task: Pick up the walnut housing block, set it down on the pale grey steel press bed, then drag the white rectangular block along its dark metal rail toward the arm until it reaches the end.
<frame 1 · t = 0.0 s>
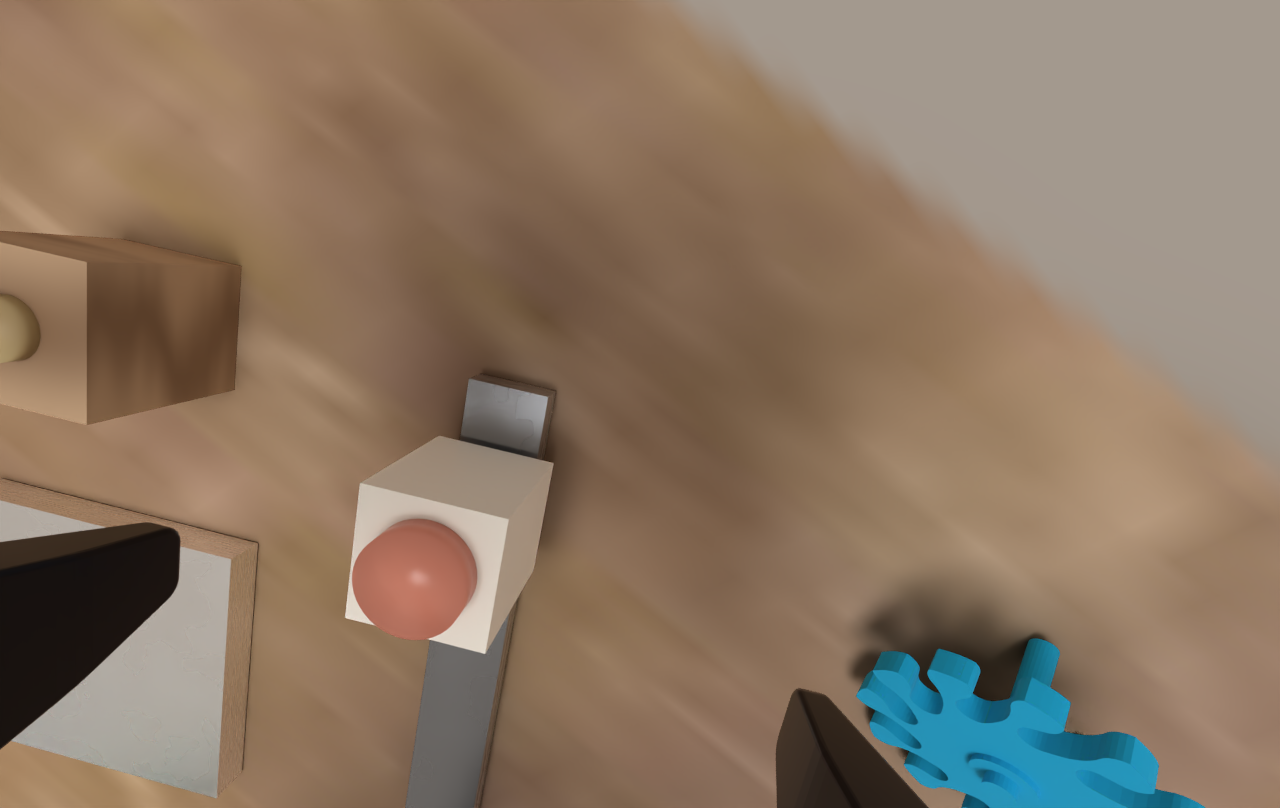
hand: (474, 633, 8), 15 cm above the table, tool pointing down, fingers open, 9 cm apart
blue lobed piece: (965, 694, 24), on the table
housing: (180, 315, 24), on the table
press bed: (126, 630, 27), on the table
lever rail: (480, 610, 25), on the table
white rectangular block: (453, 539, 19), point 5 cm above the table, slide at 12.0 cm
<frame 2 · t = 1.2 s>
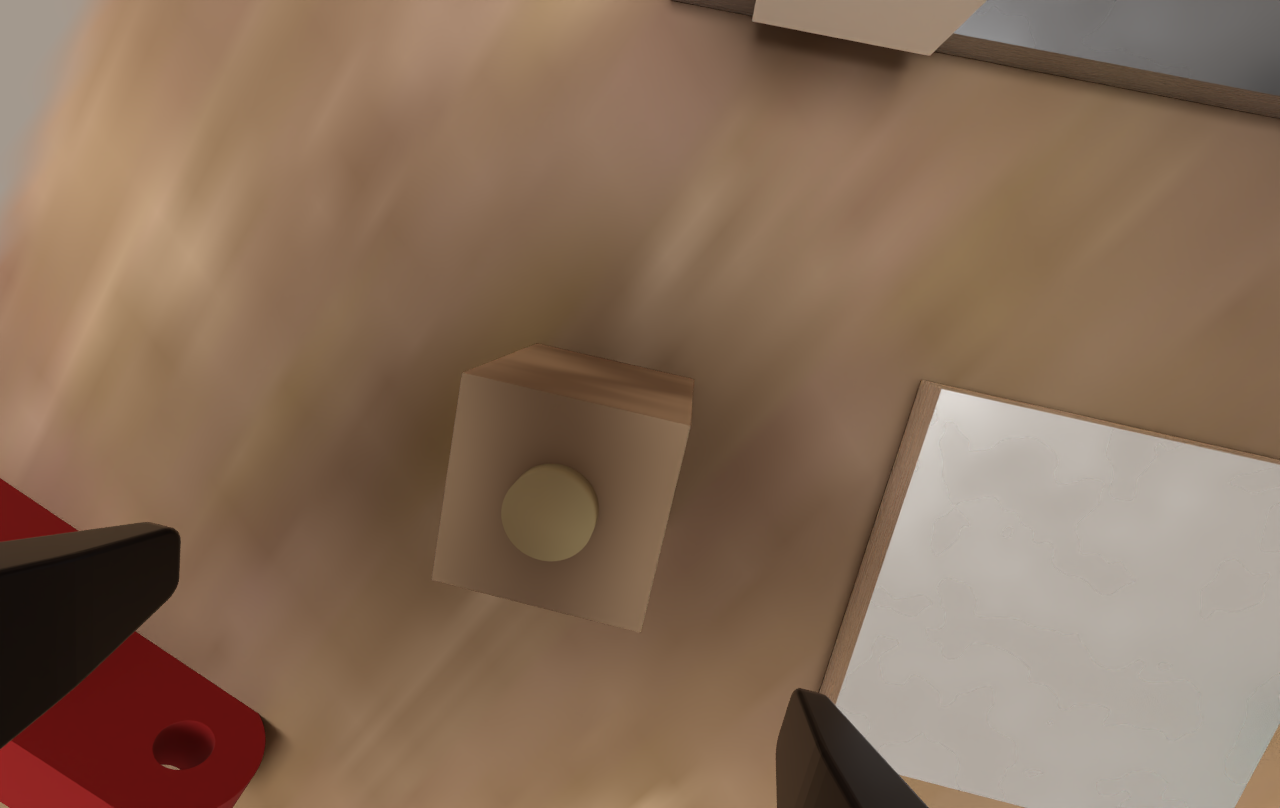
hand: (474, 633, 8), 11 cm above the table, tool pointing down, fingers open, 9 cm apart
housing: (599, 436, 19), on the table
press bed: (1053, 607, 19), on the table
mechanical linkage: (112, 632, 23), on the table
lever rail: (1063, 9, 15), on the table
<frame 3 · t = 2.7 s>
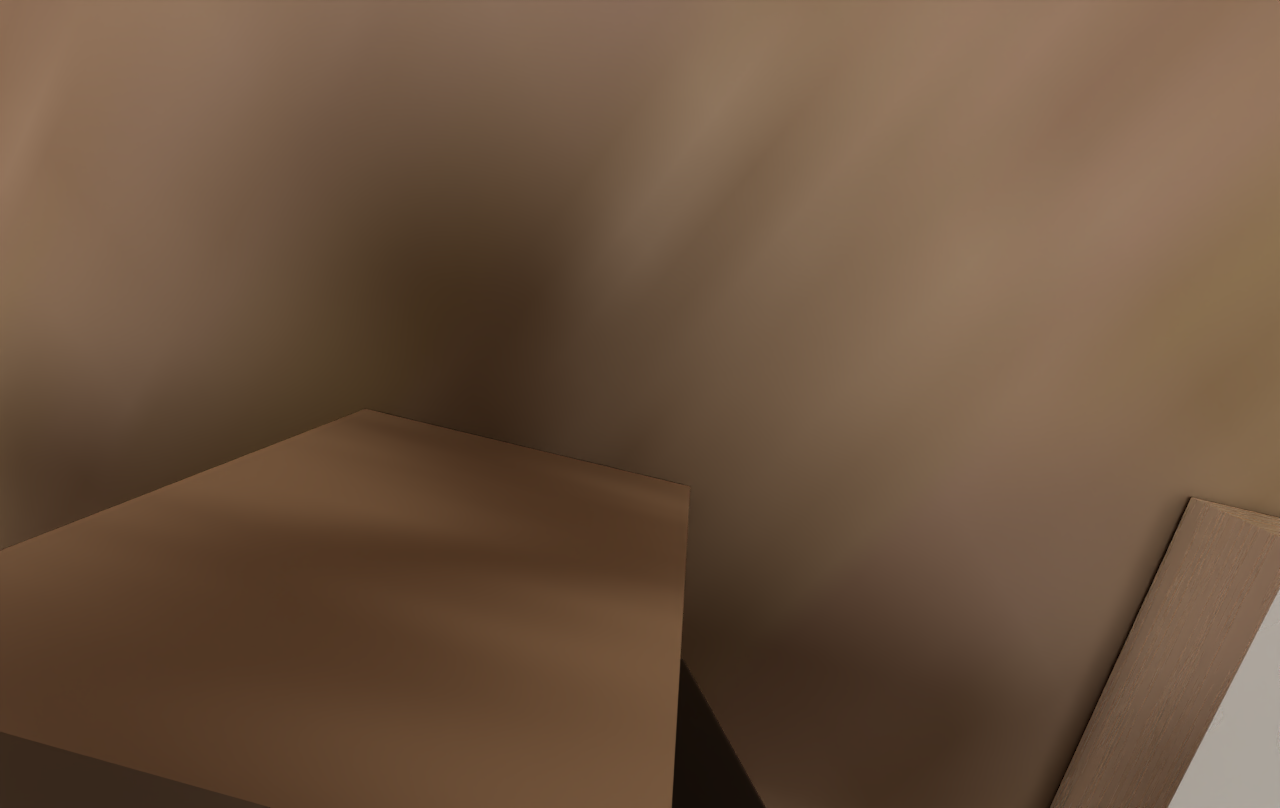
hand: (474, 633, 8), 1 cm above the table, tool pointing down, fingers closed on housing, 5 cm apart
housing: (498, 595, 9), on the table, touching gripper
when the fingers open (4 cm above the table, at t = 6.8 s): housing drops 1 cm, resting on press bed.
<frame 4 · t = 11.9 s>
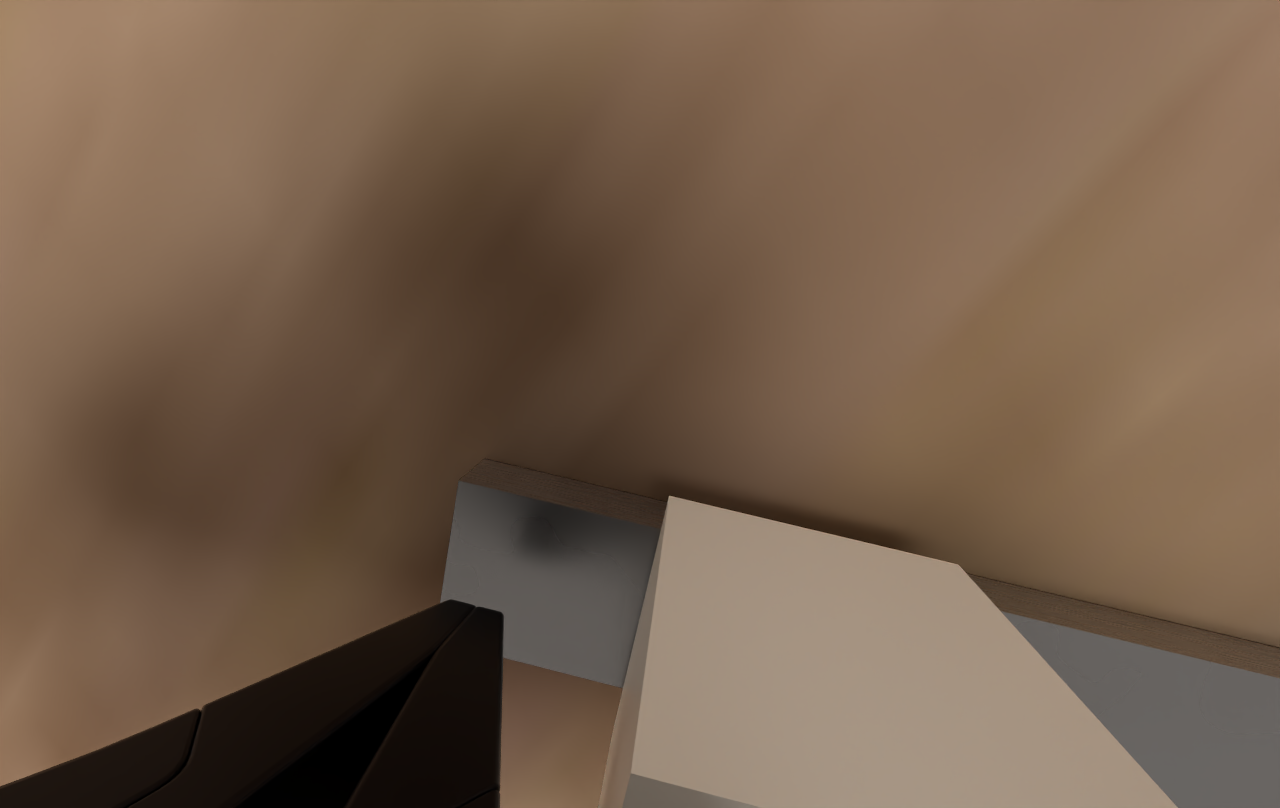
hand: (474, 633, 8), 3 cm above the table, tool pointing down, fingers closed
lever rail: (1007, 664, 11), on the table
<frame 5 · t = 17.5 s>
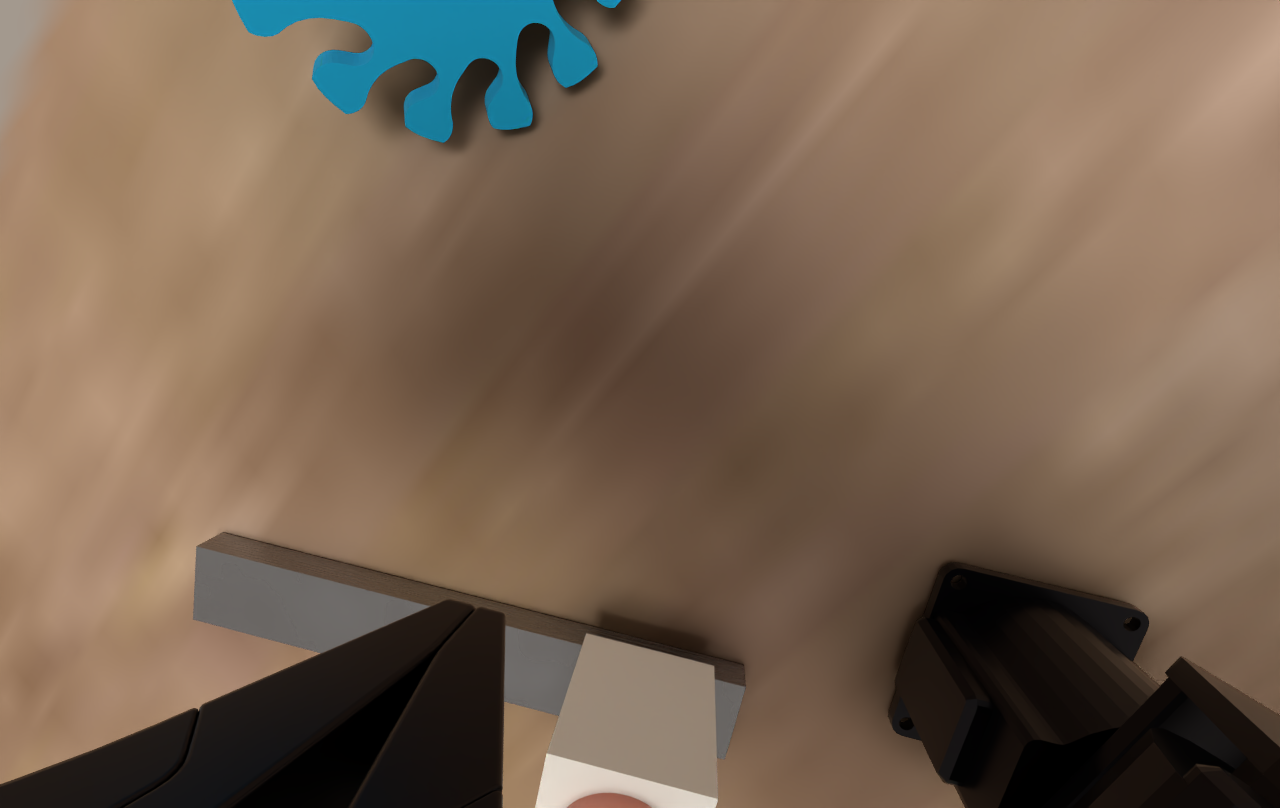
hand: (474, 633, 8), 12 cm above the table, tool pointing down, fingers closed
lever rail: (470, 632, 22), on the table
white rectangular block: (624, 778, 17), point 5 cm above the table, slide at 0.0 cm
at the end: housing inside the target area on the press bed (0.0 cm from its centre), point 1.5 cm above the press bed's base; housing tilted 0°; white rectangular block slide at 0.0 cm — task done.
